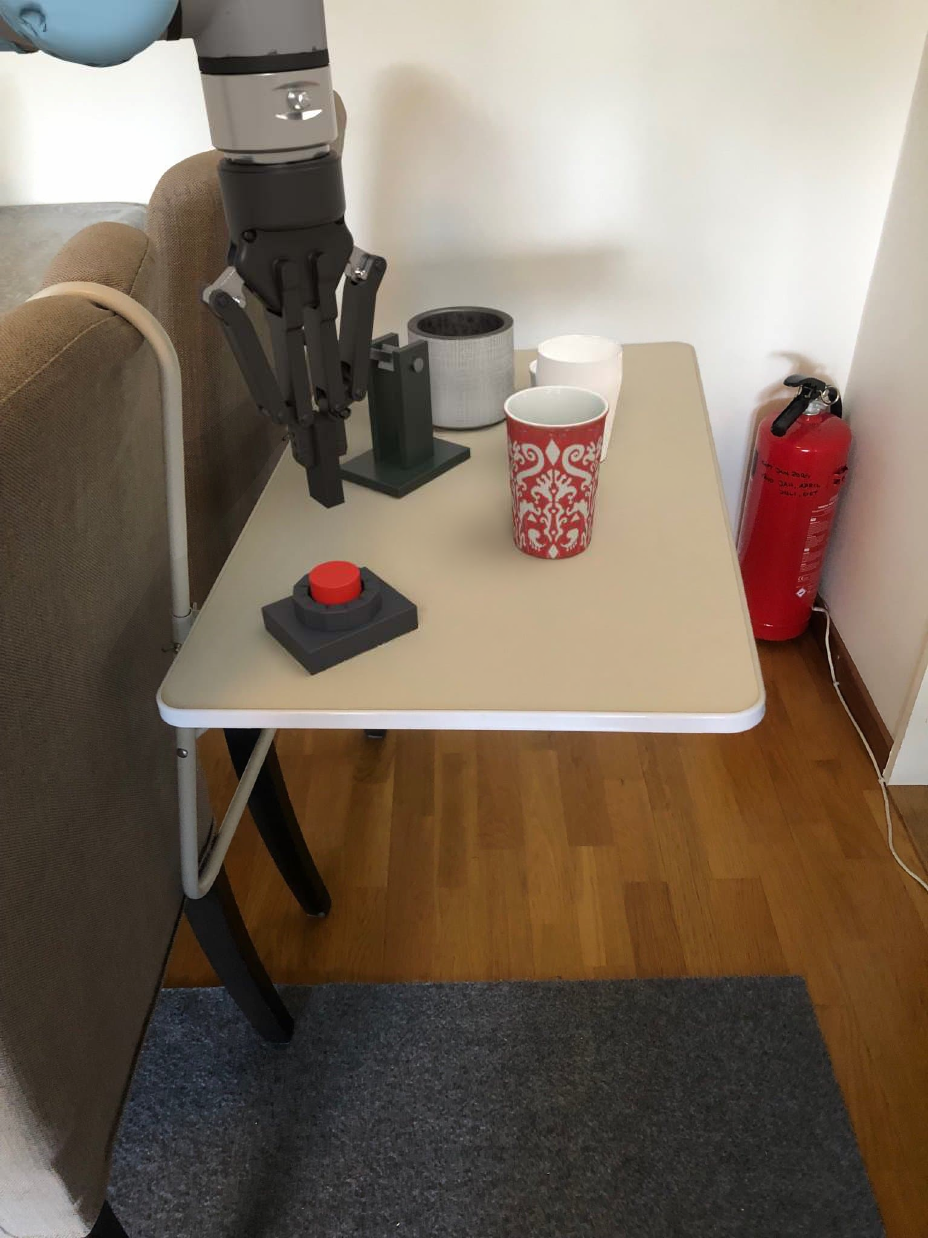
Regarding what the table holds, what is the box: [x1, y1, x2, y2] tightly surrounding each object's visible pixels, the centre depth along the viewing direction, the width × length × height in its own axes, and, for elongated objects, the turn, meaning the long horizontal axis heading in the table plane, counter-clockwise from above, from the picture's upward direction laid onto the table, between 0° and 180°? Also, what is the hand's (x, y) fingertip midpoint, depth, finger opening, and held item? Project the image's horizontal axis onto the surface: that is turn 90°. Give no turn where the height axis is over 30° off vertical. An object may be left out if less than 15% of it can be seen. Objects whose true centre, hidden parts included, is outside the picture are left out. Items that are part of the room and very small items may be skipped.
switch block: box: [261, 566, 419, 676], centre depth 75 cm, size 10×8×4 cm
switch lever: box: [302, 327, 400, 372], centre depth 89 cm, size 14×5×2 cm, turn 142°
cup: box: [536, 334, 623, 463], centre depth 98 cm, size 9×9×12 cm
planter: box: [406, 305, 516, 431], centre depth 109 cm, size 13×13×11 cm
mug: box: [503, 386, 610, 560], centre depth 84 cm, size 13×9×14 cm
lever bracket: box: [340, 331, 472, 499], centre depth 96 cm, size 12×9×14 cm
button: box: [309, 560, 362, 605], centre depth 73 cm, size 4×4×2 cm
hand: (327, 499), depth 69 cm, fingers closed
